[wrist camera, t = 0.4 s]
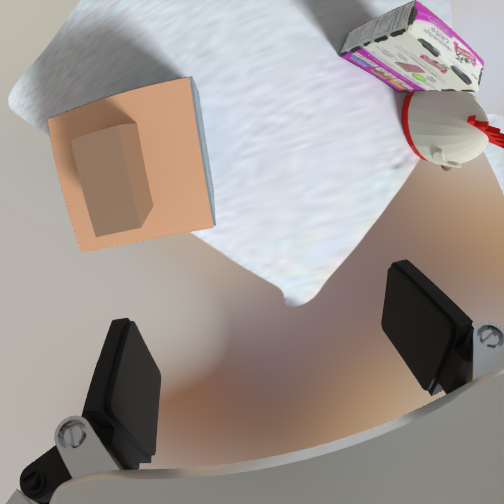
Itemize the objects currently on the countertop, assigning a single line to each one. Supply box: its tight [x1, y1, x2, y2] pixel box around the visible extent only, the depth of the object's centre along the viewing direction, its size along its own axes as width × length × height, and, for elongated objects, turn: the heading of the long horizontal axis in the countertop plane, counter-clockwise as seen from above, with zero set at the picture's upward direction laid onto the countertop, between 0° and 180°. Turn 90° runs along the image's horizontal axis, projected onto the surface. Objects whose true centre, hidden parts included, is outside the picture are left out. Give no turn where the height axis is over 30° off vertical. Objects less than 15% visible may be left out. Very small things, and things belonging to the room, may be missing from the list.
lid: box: [48, 77, 213, 253], centre depth 20 cm, size 13×13×8 cm
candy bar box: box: [339, 0, 484, 92], centre depth 25 cm, size 11×5×16 cm, turn 70°
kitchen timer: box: [402, 91, 504, 168], centre depth 31 cm, size 14×14×15 cm
